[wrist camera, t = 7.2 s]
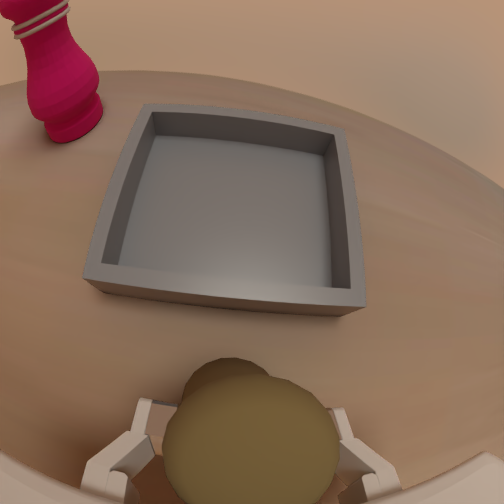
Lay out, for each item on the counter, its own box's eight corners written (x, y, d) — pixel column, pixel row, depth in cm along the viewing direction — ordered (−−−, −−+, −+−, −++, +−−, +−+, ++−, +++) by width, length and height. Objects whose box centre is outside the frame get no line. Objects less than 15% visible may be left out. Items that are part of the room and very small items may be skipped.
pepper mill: (62, 103, 22) (22, -43, 4) (116, 95, 23) (93, -74, 5) (35, 151, 20) (-35, -12, 1) (94, 144, 21) (40, -61, 2)
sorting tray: (103, 292, 16) (82, 277, 13) (149, 133, 22) (144, 103, 18) (340, 316, 18) (366, 306, 15) (329, 155, 23) (344, 129, 20)
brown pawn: (284, 361, 16) (384, 362, 6) (275, 449, 14) (350, 540, 4) (187, 351, 16) (143, 343, 6) (178, 441, 14) (137, 539, 4)
